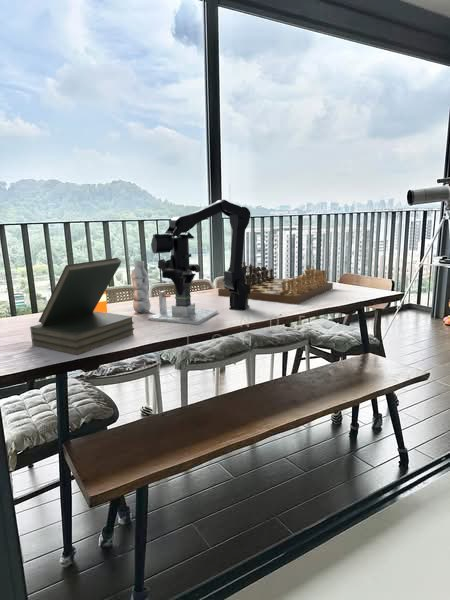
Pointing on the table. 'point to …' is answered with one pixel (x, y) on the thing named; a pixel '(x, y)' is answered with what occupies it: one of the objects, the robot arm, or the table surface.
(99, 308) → the orange juice
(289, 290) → the chess set
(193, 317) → the base
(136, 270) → the plastic bottle
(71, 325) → the bible
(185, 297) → the block
